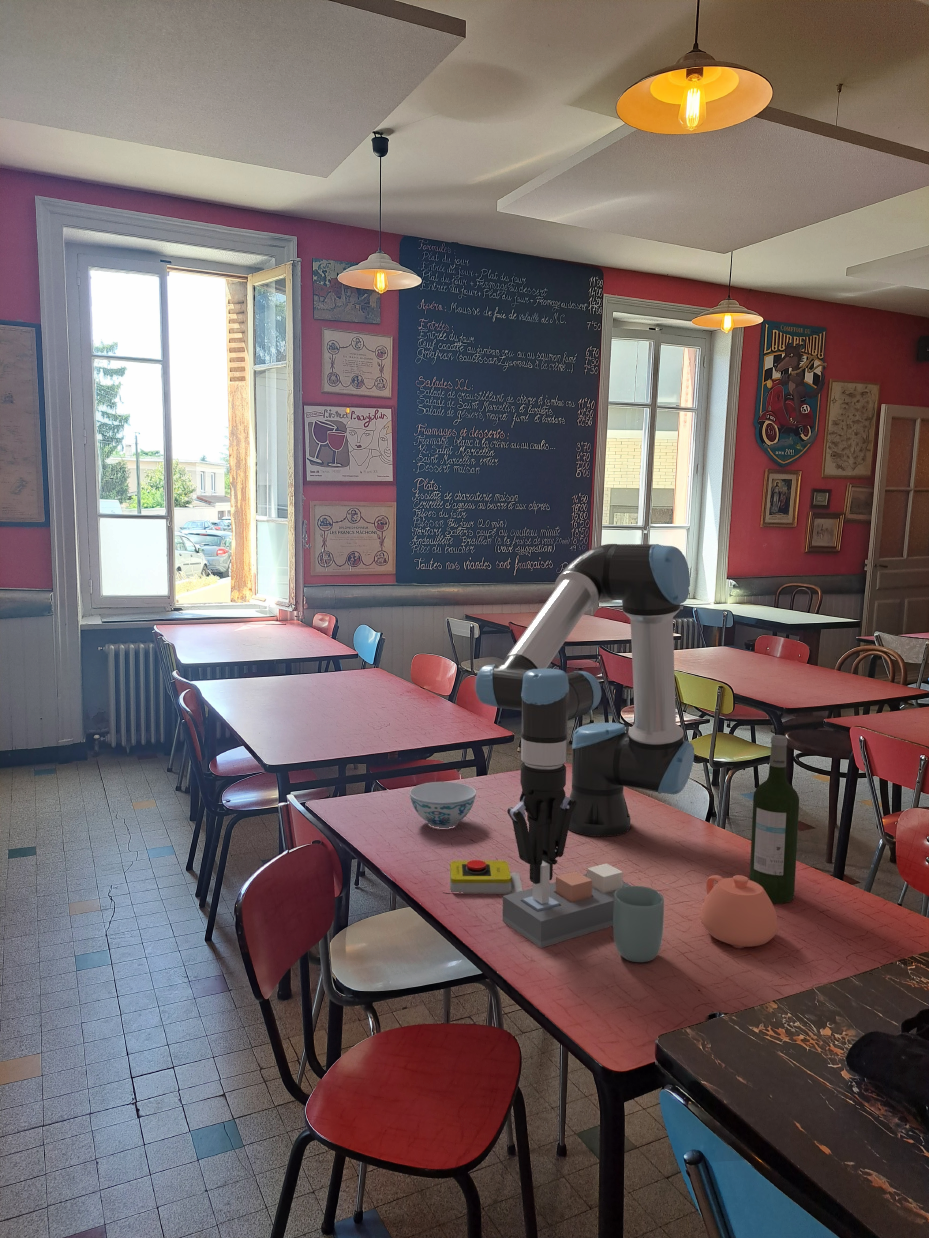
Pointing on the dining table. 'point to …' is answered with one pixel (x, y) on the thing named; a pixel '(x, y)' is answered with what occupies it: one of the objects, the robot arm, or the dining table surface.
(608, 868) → the ivory key
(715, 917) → the sugar bowl
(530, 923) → the key panel
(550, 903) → the blue key
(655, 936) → the cup
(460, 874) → the emergency button
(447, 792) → the chinaware
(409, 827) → the dining table surface
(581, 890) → the orange key
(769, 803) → the wine bottle
